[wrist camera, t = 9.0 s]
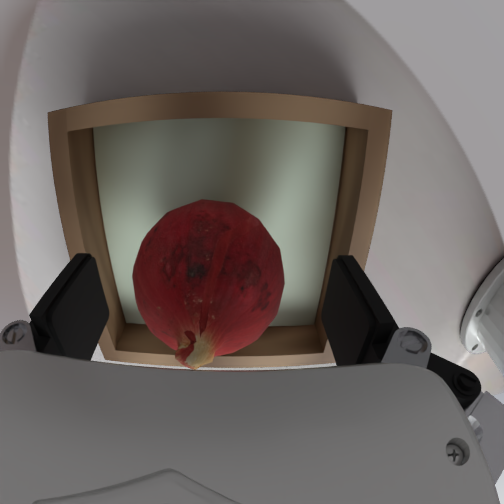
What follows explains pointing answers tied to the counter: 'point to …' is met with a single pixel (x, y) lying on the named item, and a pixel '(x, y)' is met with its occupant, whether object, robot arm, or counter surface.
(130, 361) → the tray
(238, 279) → the dark red round piece
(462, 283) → the counter surface
